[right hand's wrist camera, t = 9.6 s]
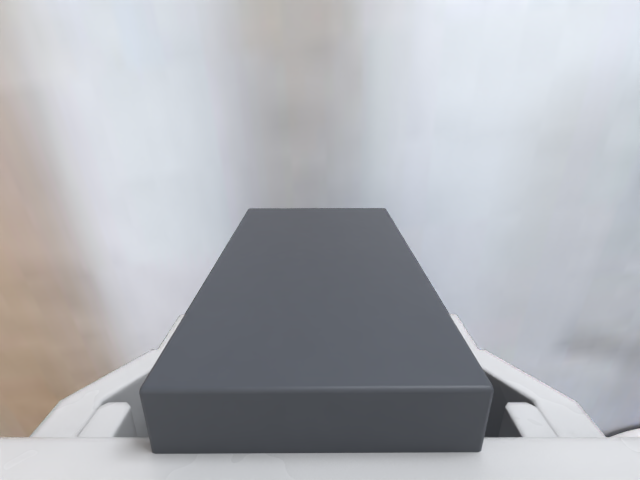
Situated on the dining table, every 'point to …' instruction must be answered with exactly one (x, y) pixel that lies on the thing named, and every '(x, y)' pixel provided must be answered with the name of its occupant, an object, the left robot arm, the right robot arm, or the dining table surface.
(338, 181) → the dining table surface
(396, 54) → the dining table surface
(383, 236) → the bar
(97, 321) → the dining table surface
